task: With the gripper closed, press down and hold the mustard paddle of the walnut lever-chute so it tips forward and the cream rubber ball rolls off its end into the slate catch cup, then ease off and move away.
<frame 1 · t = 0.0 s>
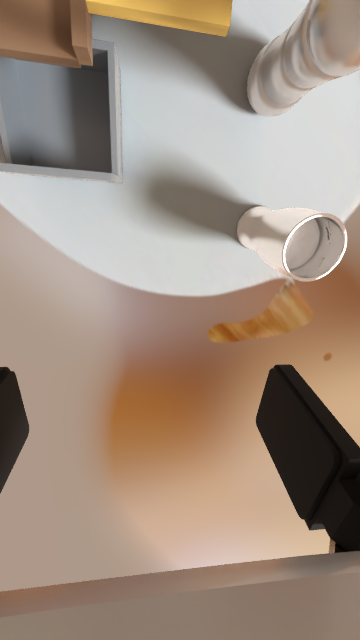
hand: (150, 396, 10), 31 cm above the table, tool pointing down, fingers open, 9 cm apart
catch cup: (72, 125, 30), on the table
plastic bottle: (267, 87, 31), on the table
beer glass: (255, 228, 38), on the table
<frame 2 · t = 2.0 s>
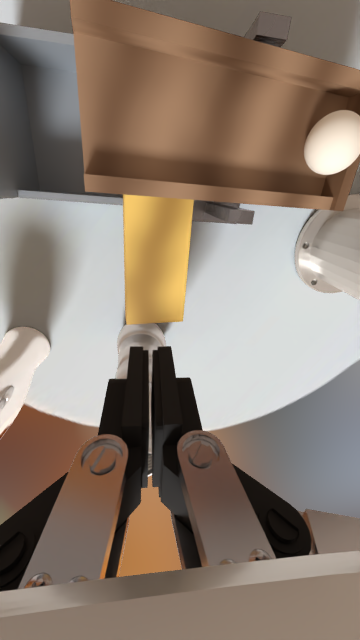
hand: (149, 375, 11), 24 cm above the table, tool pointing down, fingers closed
pivot stand: (218, 153, 28), on the table
catch cup: (85, 139, 26), on the table
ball: (333, 144, 19), point 11 cm above the table, tilted 10°, touching lever chute
plastic bottle: (142, 333, 38), on the table
lever chute: (215, 207, 22), point 9 cm above the table, hinge at -10.0°, touching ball
beer glass: (28, 344, 36), on the table
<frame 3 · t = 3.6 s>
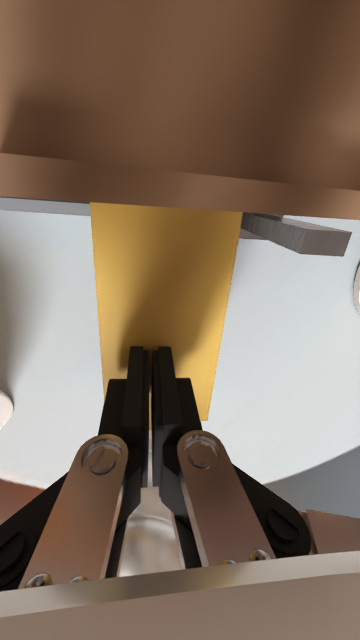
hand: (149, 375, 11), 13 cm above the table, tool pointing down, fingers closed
pivot stand: (255, 134, 18), on the table
catch cup: (46, 109, 16), on the table
plastic bottle: (139, 385, 28), on the table
lever chute: (269, 221, 12), point 9 cm above the table, hinge at -9.9°, touching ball, gripper
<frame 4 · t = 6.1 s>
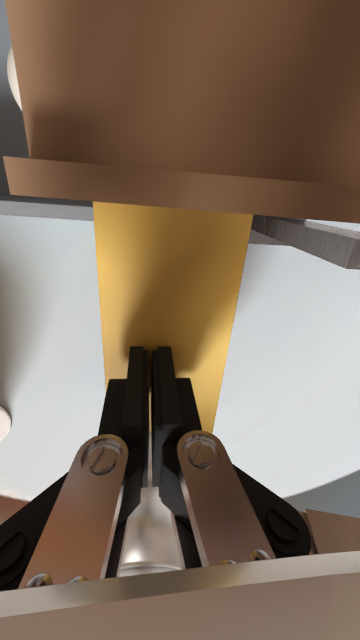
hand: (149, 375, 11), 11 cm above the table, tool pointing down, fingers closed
pivot stand: (277, 128, 16), on the table
catch cup: (45, 101, 15), on the table
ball: (56, 88, 13), point 3 cm above the table, tilted 113°, touching catch cup
plastic bottle: (145, 399, 26), on the table
lever chute: (305, 227, 11), point 9 cm above the table, hinge at 5.9°, touching gripper
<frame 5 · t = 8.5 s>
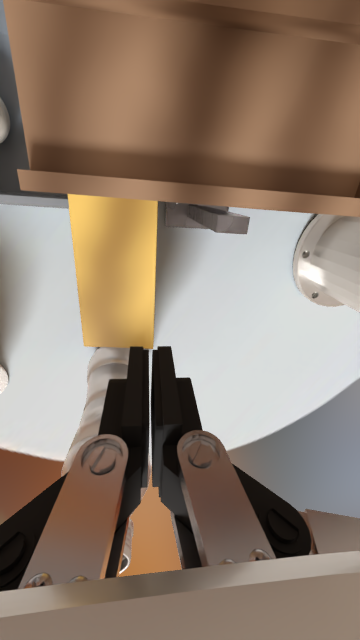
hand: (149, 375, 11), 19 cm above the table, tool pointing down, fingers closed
pivot stand: (201, 144, 23), on the table
catch cup: (34, 125, 21), on the table
plastic bottle: (119, 357, 32), on the table
lever chute: (202, 211, 18), point 9 cm above the table, hinge at 5.9°
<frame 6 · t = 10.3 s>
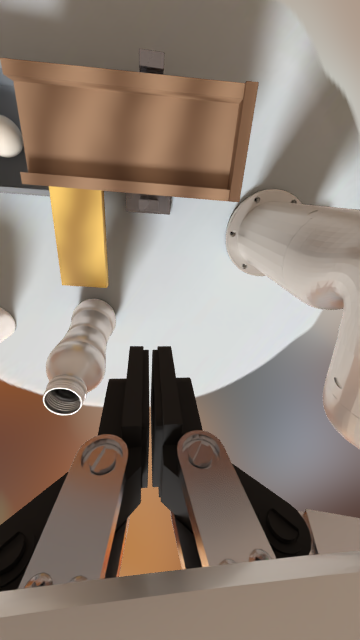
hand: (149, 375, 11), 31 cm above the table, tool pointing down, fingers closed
pivot stand: (149, 154, 33), on the table
catch cup: (34, 142, 31), on the table
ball: (2, 136, 29), point 3 cm above the table, tilted 138°, touching catch cup
plastic bottle: (97, 312, 43), on the table
lever chute: (136, 198, 28), point 9 cm above the table, hinge at 5.9°
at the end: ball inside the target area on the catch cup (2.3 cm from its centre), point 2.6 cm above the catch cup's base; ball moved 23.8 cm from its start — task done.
